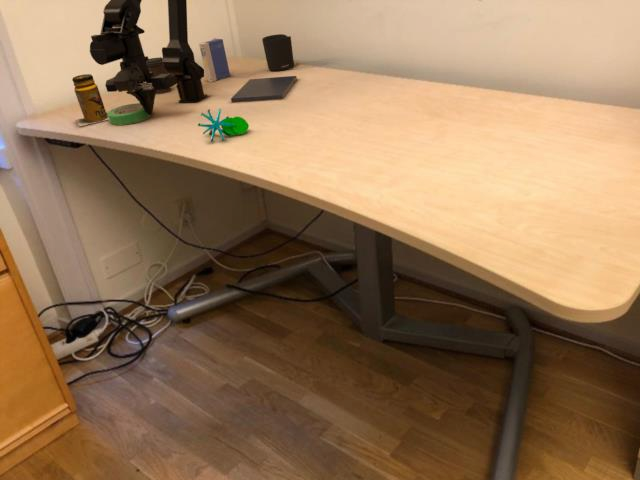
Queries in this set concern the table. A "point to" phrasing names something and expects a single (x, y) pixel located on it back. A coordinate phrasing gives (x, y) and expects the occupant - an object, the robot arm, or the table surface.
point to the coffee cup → (157, 70)
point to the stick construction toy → (225, 125)
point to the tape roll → (127, 114)
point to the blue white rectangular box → (214, 59)
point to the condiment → (89, 100)
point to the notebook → (264, 89)
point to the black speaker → (278, 52)
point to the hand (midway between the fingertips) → (150, 114)
